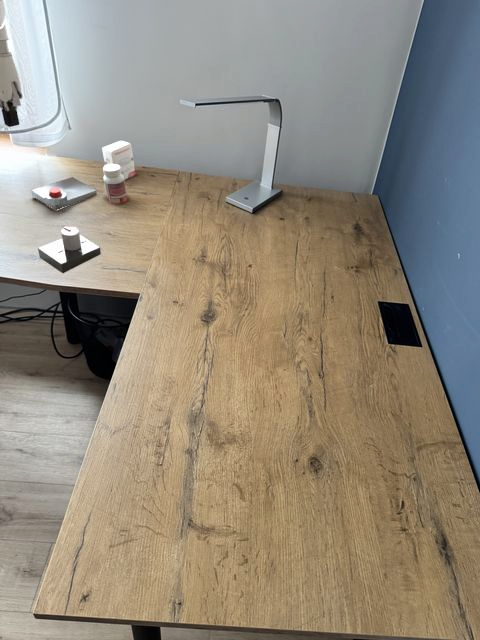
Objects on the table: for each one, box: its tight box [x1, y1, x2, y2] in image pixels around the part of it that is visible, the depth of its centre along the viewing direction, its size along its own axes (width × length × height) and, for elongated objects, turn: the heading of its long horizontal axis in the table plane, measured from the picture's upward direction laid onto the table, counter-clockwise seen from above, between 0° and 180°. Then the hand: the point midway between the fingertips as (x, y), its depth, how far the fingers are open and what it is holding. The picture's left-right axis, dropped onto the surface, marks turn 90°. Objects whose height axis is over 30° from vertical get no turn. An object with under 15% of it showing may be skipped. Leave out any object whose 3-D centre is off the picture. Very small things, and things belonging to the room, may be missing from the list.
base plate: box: [37, 234, 102, 274], centre depth 133 cm, size 12×10×3 cm
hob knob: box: [60, 226, 81, 251], centre depth 131 cm, size 4×4×5 cm
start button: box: [49, 188, 61, 198], centre depth 150 cm, size 3×3×2 cm
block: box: [30, 176, 98, 211], centre depth 156 cm, size 16×13×4 cm
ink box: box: [101, 140, 136, 181], centre depth 166 cm, size 9×5×12 cm, turn 145°
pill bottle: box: [102, 164, 128, 205], centre depth 155 cm, size 6×6×11 cm
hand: (12, 124), depth 132 cm, fingers closed
